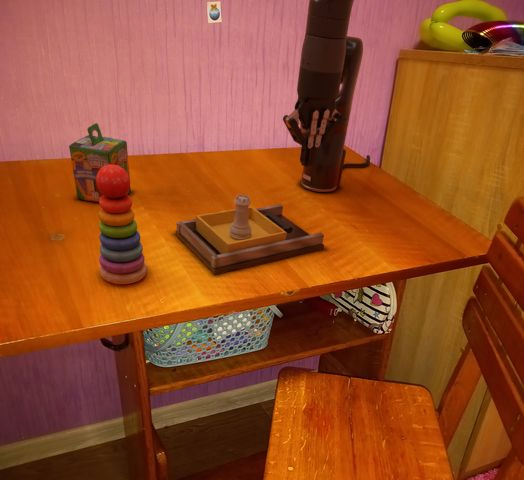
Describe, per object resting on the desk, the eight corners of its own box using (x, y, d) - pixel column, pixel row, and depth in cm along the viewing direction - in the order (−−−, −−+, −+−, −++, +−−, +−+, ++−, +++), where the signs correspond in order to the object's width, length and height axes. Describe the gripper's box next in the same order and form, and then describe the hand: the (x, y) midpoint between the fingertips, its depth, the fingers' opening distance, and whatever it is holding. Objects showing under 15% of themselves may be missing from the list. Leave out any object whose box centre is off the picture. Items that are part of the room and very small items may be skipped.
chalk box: (115, 206, 106) (107, 135, 97) (75, 199, 107) (64, 128, 98) (132, 191, 113) (127, 123, 104) (95, 185, 114) (86, 117, 105)
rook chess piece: (228, 230, 98) (230, 191, 93) (250, 231, 99) (253, 192, 94) (229, 240, 95) (231, 200, 90) (252, 241, 95) (255, 202, 90)
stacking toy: (155, 269, 88) (149, 164, 76) (132, 291, 82) (121, 180, 70) (116, 259, 89) (105, 154, 77) (91, 279, 83) (74, 169, 71)
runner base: (277, 215, 110) (279, 203, 108) (323, 249, 100) (326, 235, 98) (175, 234, 99) (175, 220, 97) (215, 274, 88) (215, 260, 86)
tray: (264, 217, 106) (265, 203, 104) (298, 243, 98) (300, 229, 96) (195, 230, 98) (195, 215, 96) (227, 259, 90) (227, 244, 88)
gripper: (303, 71, 80) (290, 177, 91) (364, 69, 86) (344, 168, 97) (278, 61, 84) (268, 163, 95) (337, 60, 90) (321, 155, 101)
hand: (307, 165), depth 96 cm, fingers closed
